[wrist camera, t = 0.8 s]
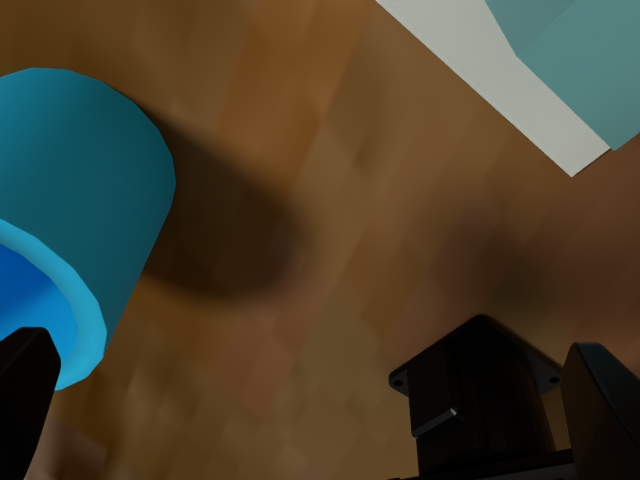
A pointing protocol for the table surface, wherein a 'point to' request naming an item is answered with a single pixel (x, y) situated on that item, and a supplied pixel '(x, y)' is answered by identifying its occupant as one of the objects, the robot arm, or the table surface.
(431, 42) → the sliding vise on plate
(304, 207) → the table surface
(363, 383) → the table surface
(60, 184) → the mug
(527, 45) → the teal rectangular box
